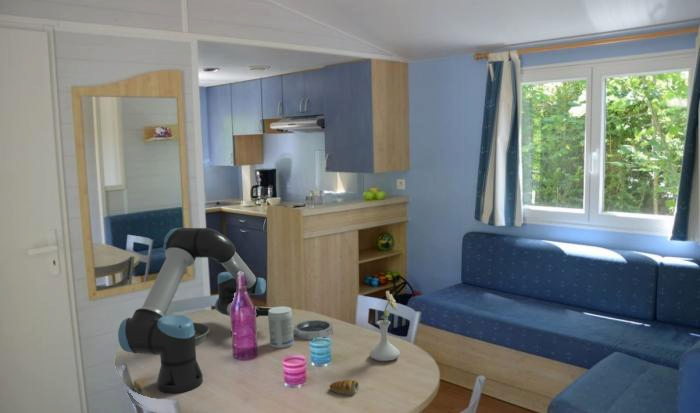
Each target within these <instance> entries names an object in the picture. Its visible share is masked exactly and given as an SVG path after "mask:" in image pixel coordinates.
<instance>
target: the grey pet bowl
mask: <svg viewBox="0 0 700 413" xmlns="http://www.w3.org/2000/svg"><path fill="white" fill-rule="evenodd" d="M333 330H334V329H333V323H332V322H330V321H328V320H321V319H309V320H304V321H300V322H297V323H296V324H294V326H293V337H294V338H297V339H299V340H300V339H301V340H305V339H306V340H309V341H310V339H313V338H317V337H326V338H328V337H330V336H331V335H333V334H332V333H334V332H333ZM330 334H331V335H330ZM329 335H330V336H329Z"/></svg>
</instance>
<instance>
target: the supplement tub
mask: <svg viewBox="0 0 700 413" xmlns="http://www.w3.org/2000/svg"><path fill="white" fill-rule="evenodd" d="M270 308H271V309H269V310H268V316H267V317H268V318H267V319H268V331H269V343H270V346H271V347H272V348H274V349H285V348H288V347H291V346H293V345H294V341H295V340H294V338H295V336H294V326H293V324H294V322H293V313H292V308H291V307H289V306H284V305H283V306H274V307H270Z"/></svg>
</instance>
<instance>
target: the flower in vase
mask: <svg viewBox="0 0 700 413" xmlns="http://www.w3.org/2000/svg"><path fill="white" fill-rule="evenodd" d="M385 297H386V300H387V302H386V303H387V304H386V305H385V308H384V313H383V314H382V316H380V319H382V320H378V321H376V323H377V325H378V327H379V328H380V335H381V336H380V342H379V343H377V344H376V345H375V346H374V347H373V348H371V349H370V351H369V356H370V358H372V359H374V360H376V361H380V362H388V361H394V360H396V359H397V358H399V357H400V355H401V352H400V350H399V349H398V348H397V347H396V346H394V344H392V343H391V342H390V341H389V340H388V330H389V329H388V328H389V326H390V324H391V321H390V320H386V319H385V318H387V317H389V316H390V312H389V310H388V309H387V308H388V306H390V307H391V308H392V309H393V310H395V311H397V310H398V305H397V303H396V302H397V301H396V299H395V298H394V297H393V294H392V293H391V294H390V290H386V291H385Z"/></svg>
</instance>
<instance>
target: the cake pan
mask: <svg viewBox="0 0 700 413" xmlns="http://www.w3.org/2000/svg"><path fill="white" fill-rule="evenodd" d="M193 325H194V330H195V334H198V336H195V347H197V346H199V345H200V346H201V344H203V343H205V341H206V340H207V336H208V333H209V332H210V330H211V328H210V326H208V325H207V324H205V323H200V322H193Z"/></svg>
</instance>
